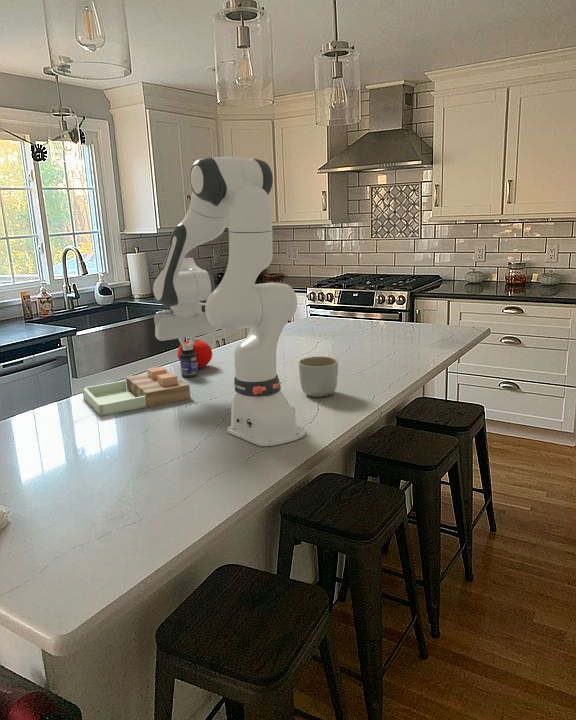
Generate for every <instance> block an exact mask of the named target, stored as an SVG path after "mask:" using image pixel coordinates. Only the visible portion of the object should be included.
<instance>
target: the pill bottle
mask: <svg viewBox="0 0 576 720" xmlns="http://www.w3.org/2000/svg"><path fill="white" fill-rule="evenodd" d="M181 350H182V353H180V360H179V364H180V372H181V377H183V378H195V377H197V376H198V375H199V368H198V364H197V354H196V352H194V345H193V350H187V351H184V350H183V346H181Z"/></svg>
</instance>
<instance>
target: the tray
mask: <svg viewBox="0 0 576 720" xmlns="http://www.w3.org/2000/svg"><path fill="white" fill-rule="evenodd" d="M81 389H82V395H83V397H82V398H83V399H84V400H85V402H87V403H88V404H89V405H91V406H92V407H93V408H92V407H91V406H90V407H91V408H92V409H93V410H94V412H96V413H97V414H98V416H99V417H105V415H106V416H111V415H114V414H115V415H116V414H120V413H119V412H121V413H125V412H130V411H134V410H139V409H144V408H147V406H146V398H145V396H140V397H135V396H134V395H133V394H132V393H131V392H129V391H128V390H127V383H126V379H124V380H118V381H113V382H107V383H102V384H101V383H100V384H96V385H91V386H86V387H82V388H81ZM124 411H125V412H124ZM110 414H111V415H110Z"/></svg>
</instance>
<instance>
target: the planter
mask: <svg viewBox="0 0 576 720" xmlns="http://www.w3.org/2000/svg"><path fill="white" fill-rule="evenodd" d="M298 372H299V373H298V374H299V380H300V386H301V387H300V388H301V389H302V391H303V392H304V394H306V395H307V396H309V397H311V396H312V398H323V397H324V396H326V397H329V396H330V395H332V394H333V393H334V392H335V391H336V389H337V385H338V374H339V360H338V359H337V358H335V357H331V356H310V357H304V358H302V359H300V360H299V361H298ZM328 395H329V396H328Z"/></svg>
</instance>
